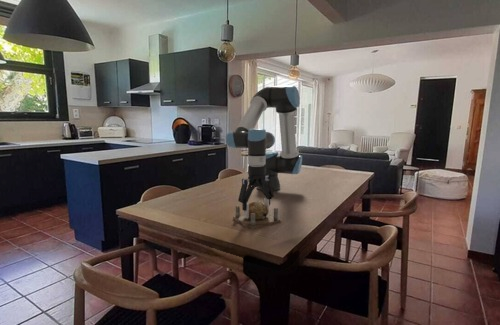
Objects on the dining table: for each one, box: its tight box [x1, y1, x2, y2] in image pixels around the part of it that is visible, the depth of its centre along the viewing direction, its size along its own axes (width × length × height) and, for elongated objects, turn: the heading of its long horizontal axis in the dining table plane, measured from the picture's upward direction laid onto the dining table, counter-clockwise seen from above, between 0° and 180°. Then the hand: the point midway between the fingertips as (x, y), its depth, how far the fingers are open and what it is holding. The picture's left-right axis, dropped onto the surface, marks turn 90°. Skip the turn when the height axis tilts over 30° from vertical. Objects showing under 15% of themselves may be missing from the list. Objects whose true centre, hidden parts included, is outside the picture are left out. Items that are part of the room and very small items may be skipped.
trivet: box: [232, 200, 281, 231], centre depth 123 cm, size 15×15×6 cm
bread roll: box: [249, 201, 268, 219], centre depth 123 cm, size 10×10×8 cm
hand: (256, 215), depth 124 cm, fingers closed on bread roll, 10 cm apart
